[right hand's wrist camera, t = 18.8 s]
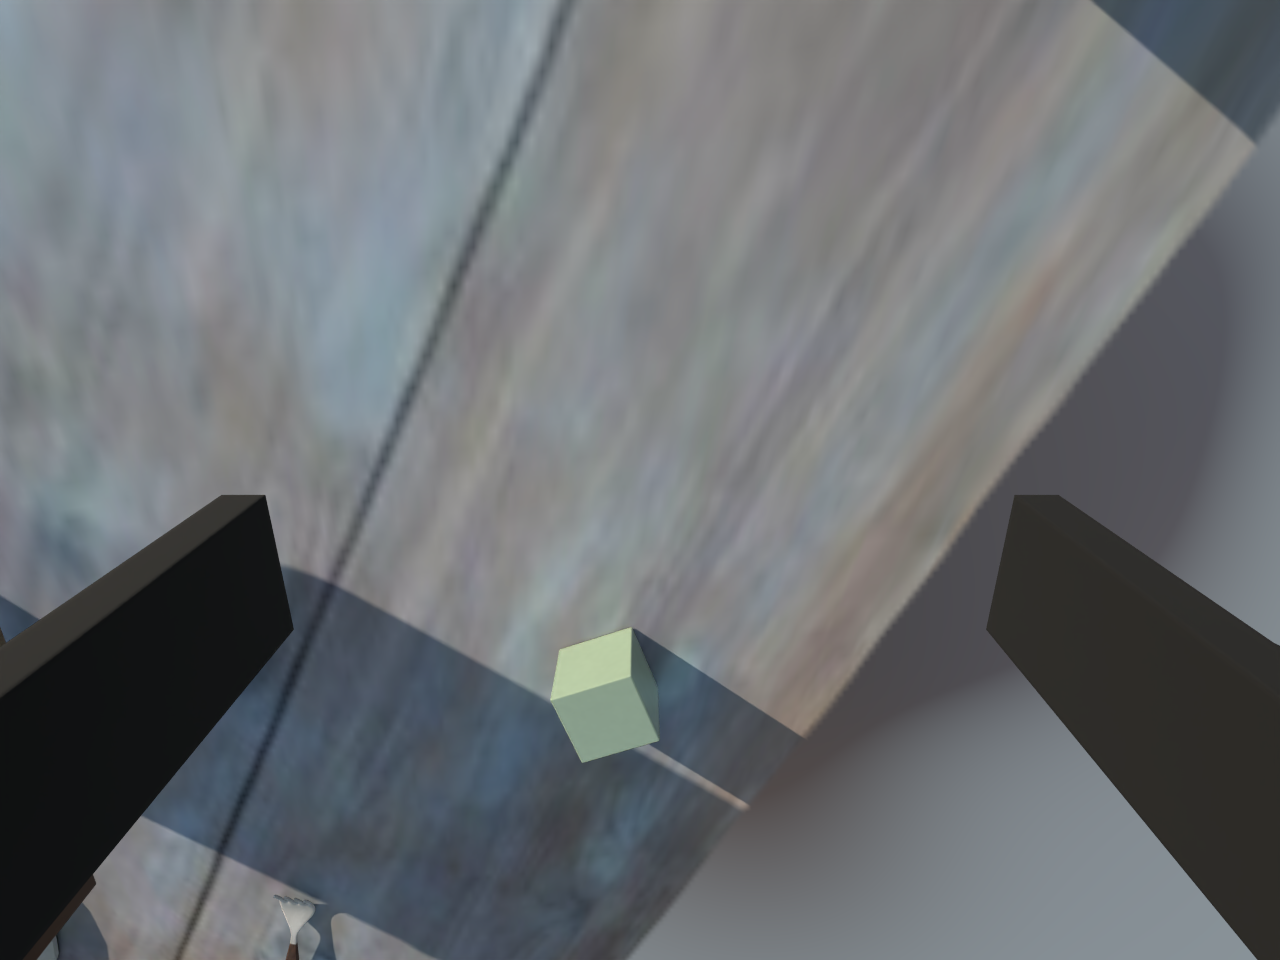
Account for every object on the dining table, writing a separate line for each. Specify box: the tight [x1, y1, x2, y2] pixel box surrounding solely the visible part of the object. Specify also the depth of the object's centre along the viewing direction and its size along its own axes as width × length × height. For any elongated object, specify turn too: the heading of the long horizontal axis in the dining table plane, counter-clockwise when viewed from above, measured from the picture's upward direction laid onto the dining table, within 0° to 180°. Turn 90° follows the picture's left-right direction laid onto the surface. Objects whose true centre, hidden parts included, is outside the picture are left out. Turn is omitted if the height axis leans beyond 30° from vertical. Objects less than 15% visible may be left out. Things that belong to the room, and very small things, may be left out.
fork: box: [273, 895, 315, 960], centre depth 54 cm, size 3×16×2 cm, turn 167°
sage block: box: [551, 627, 660, 763], centre depth 43 cm, size 5×5×5 cm
